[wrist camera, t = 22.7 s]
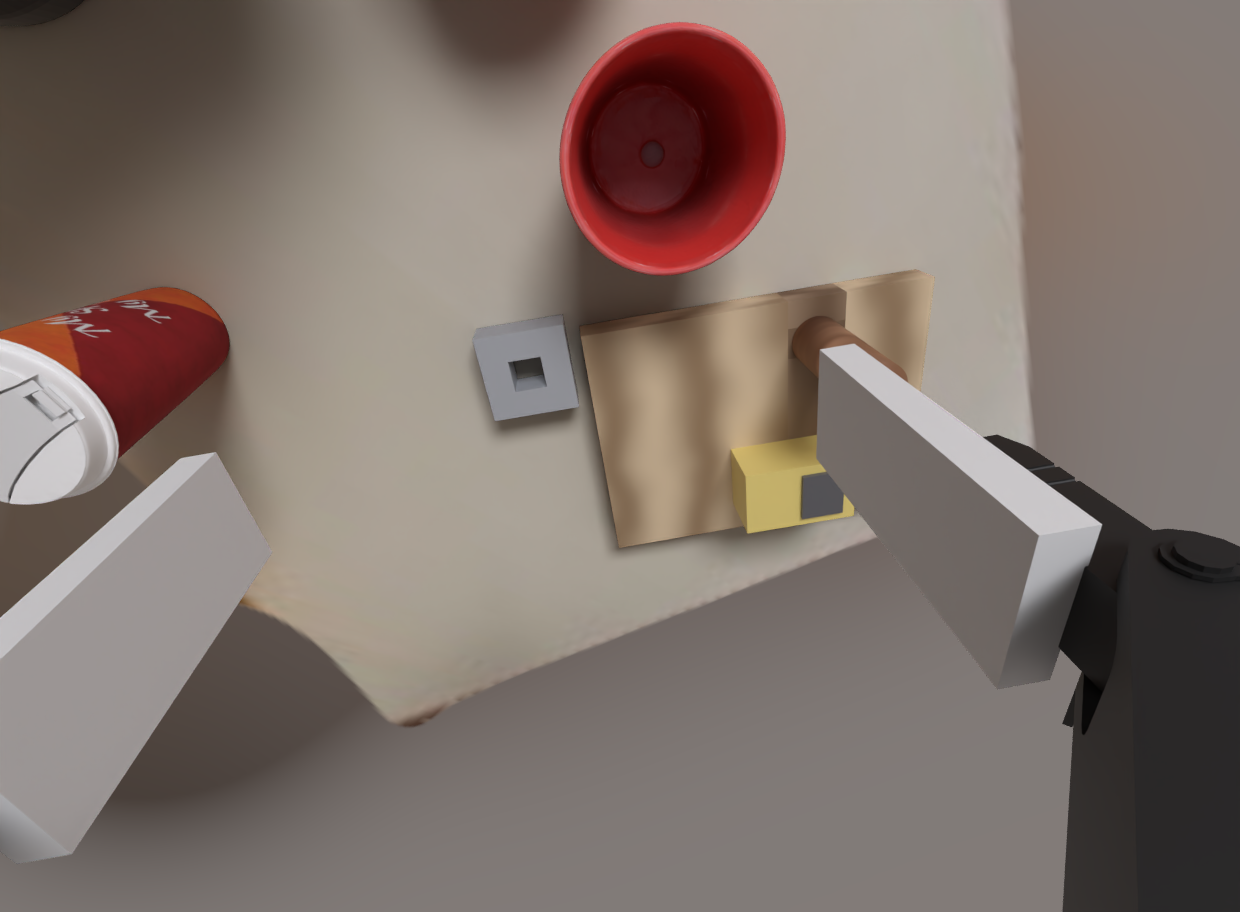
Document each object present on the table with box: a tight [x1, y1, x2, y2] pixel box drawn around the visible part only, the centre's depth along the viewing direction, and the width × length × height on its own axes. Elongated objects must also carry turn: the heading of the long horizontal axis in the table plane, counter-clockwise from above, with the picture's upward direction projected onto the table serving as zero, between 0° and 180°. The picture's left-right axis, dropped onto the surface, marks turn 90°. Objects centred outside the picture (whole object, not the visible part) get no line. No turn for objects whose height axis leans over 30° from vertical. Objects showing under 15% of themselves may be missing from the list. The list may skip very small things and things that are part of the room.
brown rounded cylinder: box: [792, 316, 908, 382], centre depth 38 cm, size 3×3×11 cm
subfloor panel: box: [580, 269, 935, 548], centre depth 45 cm, size 24×18×2 cm
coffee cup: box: [0, 287, 229, 504], centre depth 32 cm, size 8×8×15 cm
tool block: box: [472, 314, 579, 421], centre depth 41 cm, size 6×6×2 cm
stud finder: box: [731, 435, 854, 534], centre depth 44 cm, size 8×5×4 cm, turn 98°
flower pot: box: [560, 22, 786, 276], centre depth 32 cm, size 11×11×10 cm
